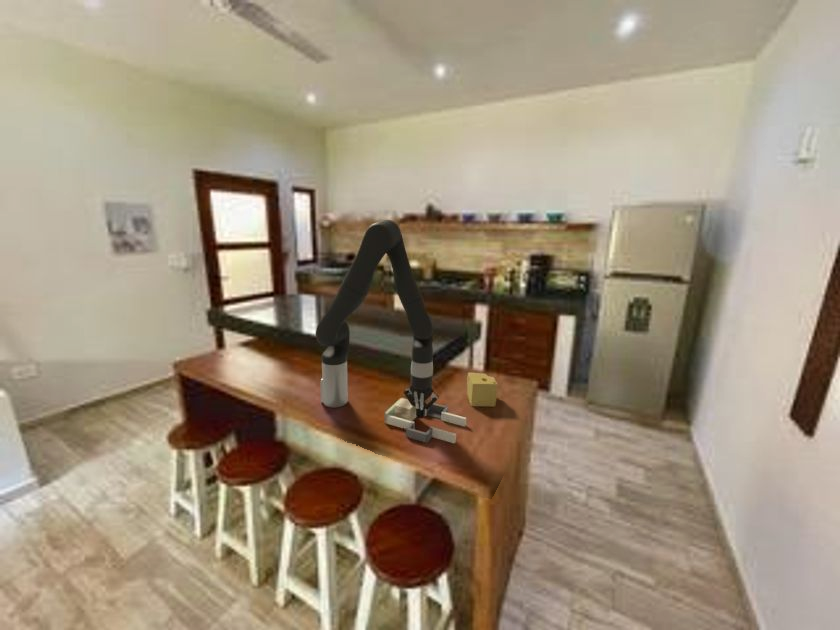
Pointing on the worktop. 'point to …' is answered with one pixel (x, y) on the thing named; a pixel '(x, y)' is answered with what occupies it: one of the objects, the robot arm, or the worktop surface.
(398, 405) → the birch block
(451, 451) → the worktop surface
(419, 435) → the trap box
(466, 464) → the worktop surface
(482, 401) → the cheese
